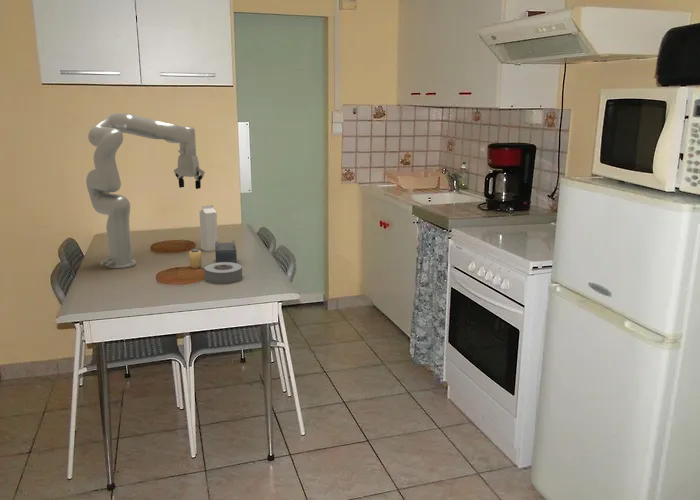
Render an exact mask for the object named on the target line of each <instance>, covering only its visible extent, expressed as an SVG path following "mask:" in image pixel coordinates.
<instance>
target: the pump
mask: <svg viewBox="0 0 700 500" xmlns="http://www.w3.org/2000/svg"><path fill="white" fill-rule="evenodd" d="M188 255H189V256H188V257H189V268H190V267H200V268H202V251H201V250H199V249H198V248H192V249H191V250H190V251H188Z"/></svg>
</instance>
